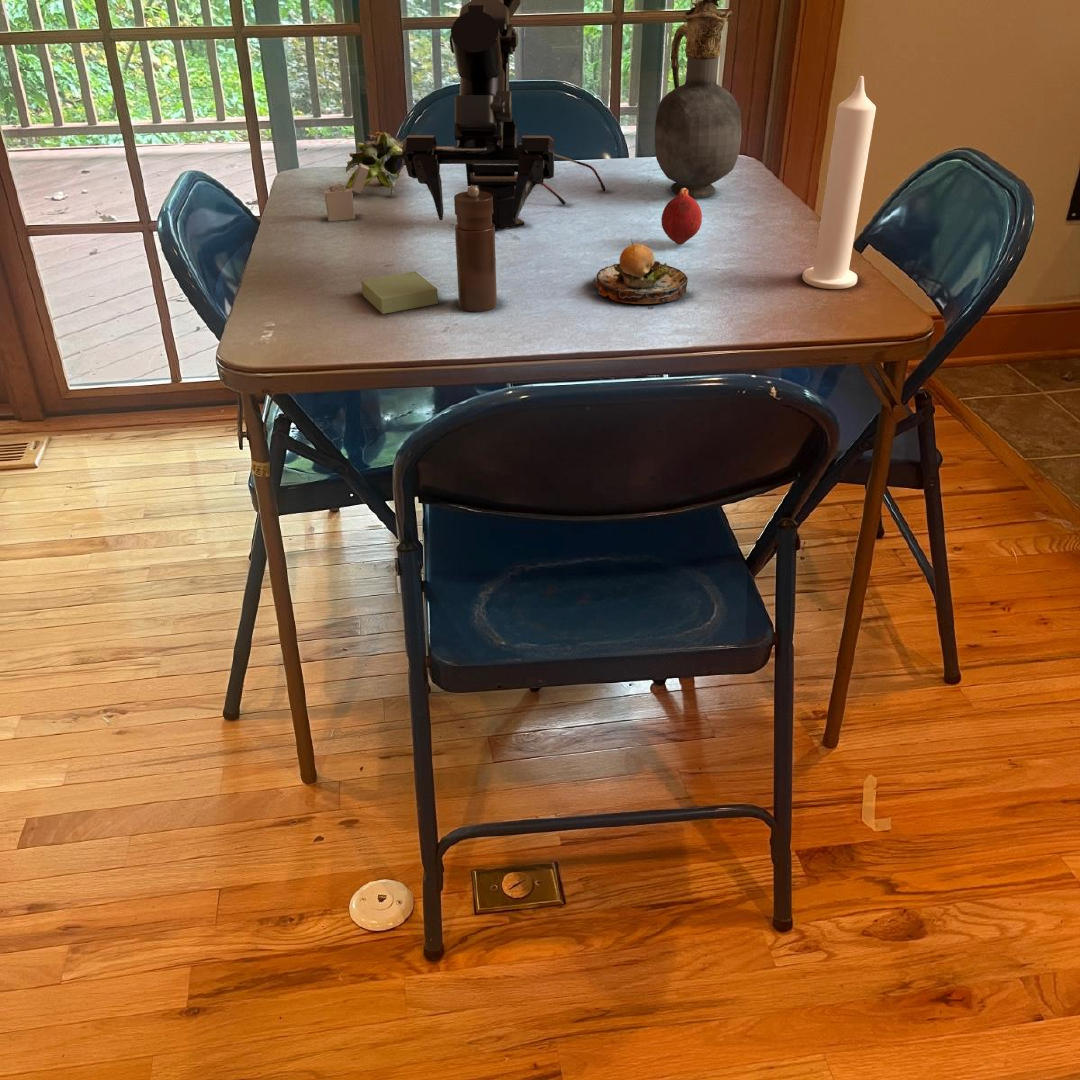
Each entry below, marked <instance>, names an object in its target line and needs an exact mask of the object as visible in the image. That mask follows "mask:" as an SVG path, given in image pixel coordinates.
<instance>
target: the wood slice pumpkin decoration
mask: <svg viewBox="0 0 1080 1080" xmlns="http://www.w3.org/2000/svg"><path fill="white" fill-rule="evenodd" d="M630 241H631V244H630V245H628V246H626V248H624V249H623V250H622V252H621V254H620V256H619V263H613V264H612V265H610V266H605V267H603V268H600V269H599V271H598V272H597V273H596V277H595V278H596V281H595V284H594V287H595V288H596V289H598V294H599V295H601V296H602V297H607V296H608V297H609V299H610V300H612V301H615V302H619V303H626V304H638V305H640V304H641V305H646V304H647V305H650V304H651V305H653V304H663V303H668V302H671V301H675V300H678V299H680V298H682V297H683V295H686V294H687V288H688V281H689V279H688V276H687V274H686V273H684V272H683V271H682V270H681V269H679V268H676V267H673V266H670V265H668V264H667V263H666V262H665V263H661V262H660V261H657V260H655V254H654V252H653V250H652V249H650V248H649V246H646V245H644V244H640V243H633V239H632V238H630Z"/></svg>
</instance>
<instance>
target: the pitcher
mask: <svg viewBox="0 0 1080 1080" xmlns="http://www.w3.org/2000/svg"><path fill="white" fill-rule="evenodd" d="M719 2H721V0H698V2H691V5H692V6H694V7H690V9H689V10H688V11H685V12H684V13H683V16H682V18H683V19H685V20H686V23H683V24H681V25H679V26H678V27H677V28H676V30H675V33H674V35H673V39H672V42H671V45H670V47H671V49H670V62H671V63H670V64H671V65H670V67H671V71H672V81H673V86H674V88H673V89H672V90H670V91H669V92H667V94H666V95H664V96H663V97H662V98H661V100H660V102H659V104H658V108H657V112H656V117H655V125H654V149H655V158H656V162H657V163H658V165H659V167H660V170H661V171H662V173H663V174H664V175H665V177H666V178H667V179H668V180H670V181H672V182H673V183H672V184H671V186H670V192H671V193H672V194H674V195H676V196H677V195H678V194H679V192H680V191H681V189H682V188H686V189H687V190H689V191H688V195H689V196H690V197H692V198H693V199H704V198H710V197H712V196H714V195H715V191H716V187H715V186H714V185H713V184H714V183H716V182H717V181H719V180H721V179H723V178H724V177H726V176H728V174H729V173H730V172H733V170H734V168H735V166H736V164H737V161H738V159H739V154H740V149H741V144H742V132H743V131H742V116H741V115H742V114H741V109H740V106H739V104H738V102H737V100H736V99H735V97H734V96H733V94H732V93H731V92H730V91H729V90H728V89H726V88H725V87H722V86H721V85H719V84H717V83H718V82H717V81H718V70H719V69H718V68H719V59H720V55H721V53H722V52H721V51H722V36H723V30H724V27H725V24H726V22H727V21H728V19H729V18H731V17H732V15H733V10H729V11H722V10H718V8H719V7H720V4H719ZM684 37H685V38H686V40H685V47H684V52H685V57H686V60H687V61H686V71H685V72H686V73H685V82H684V83H683V84H682V85H680V74H679V73H680V62H679V57H680V56H679V55H680V48H681V42H682V39H683V38H684Z"/></svg>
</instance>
